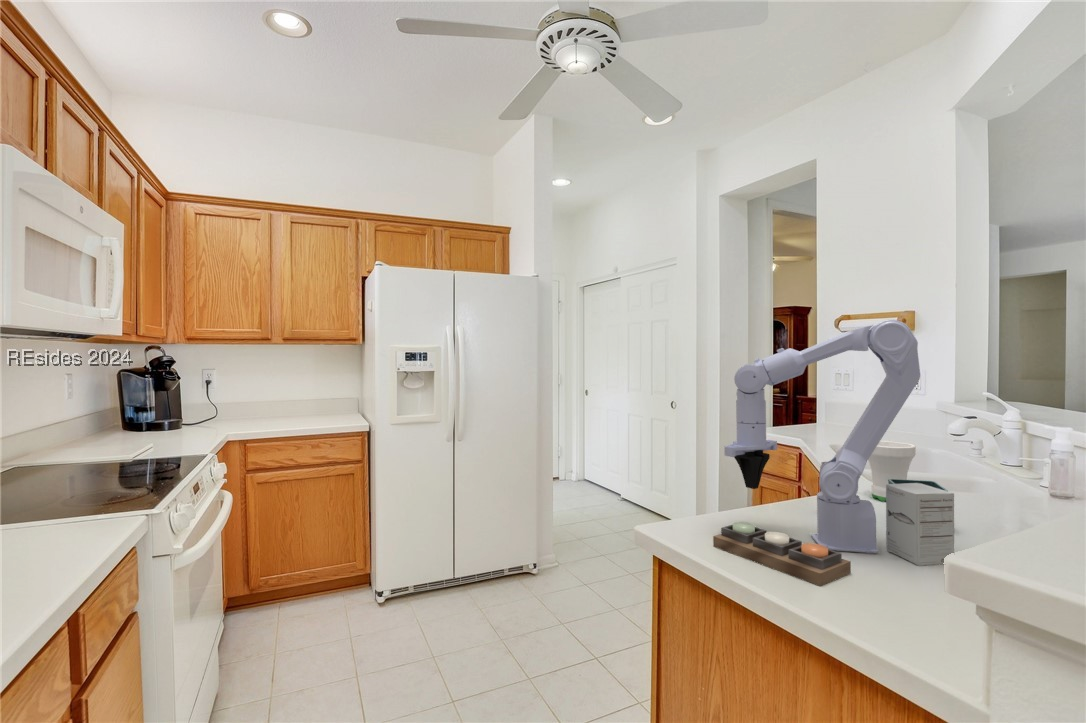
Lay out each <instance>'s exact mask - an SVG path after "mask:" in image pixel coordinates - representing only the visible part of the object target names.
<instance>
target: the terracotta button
mask: <svg viewBox="0 0 1086 723" xmlns="http://www.w3.org/2000/svg"><path fill="white" fill-rule="evenodd" d="M801 552H802V553H804V554H807V555H811V556H814V557H817V558H820V559H821V558H824V557H826V556H828V548H827V547H825V546H823V545H820V544H817V543H816V542H815V543H814V542H805V543H802V545H801Z"/></svg>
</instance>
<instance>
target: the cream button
mask: <svg viewBox="0 0 1086 723" xmlns="http://www.w3.org/2000/svg"><path fill="white" fill-rule="evenodd" d="M789 537H790V536H789V535H788V534H786V533H783V532H780V531H779V532H778V531H767V533H765V541H768V542H771V543H774V544H777V545H780V546H782V545H785V544H788V543H789Z"/></svg>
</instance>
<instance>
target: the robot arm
mask: <svg viewBox="0 0 1086 723" xmlns="http://www.w3.org/2000/svg"><path fill="white" fill-rule="evenodd" d="M918 344H919V342H918V339H917V337H916V336H915V335H914V333H913V332H912V329H911V328H910V327H909V326H908V325H907V324H906V323H905V322H903V321H900V320H897V319H887V320H883V321H881V322H879V323H877V324H876V325H874V324H870V325H865V326H862V327H858V328H855V329H851V330H847V331H846V332H843V333H840V334H837V335H836V336H833V337H831V338H828V339H827V340H823V341H821V342H819V343H816V344H813V345H812V346H810V347H808V348H804V349H803V350H800V351H799V350H797V349H794V348H790V347H789V348H786V349H785V348H783V347H781V348H778V349H776V352H777V353H774V354H771V355H770V356H767V357H764V358H762V359H760V358H756V359H754V360H753V362H754V364H752V363H751V364H748V363H747V364H744V365H743V366H741V367H739V368H738V369H737V371H736V372H735V374H734V378H733V380H734V384H735V386H736V387H737V389H736V402H735V403H736V406H735V408H736V411H735V414H736V415H735V416H736V440H735V441H732V443H731V444H729V445H725V446H724V449H723V450H724V457H730V458H731V457H732V458H734V459H735V461H736V462H737V464H738V466H739V469H740V471H741V474H742V478H743V481H744V485H745V487H746V488H748V489H751V490H755V489H756V490H757V489H759V486H760V483H761V479H762V475H763V472H764V469H765V467H766V466H767V463H768V462H769V460H770V454H769V453H765V451H771V450H772V451H777V450H778V441H777V440H771V439H767V410H766V409H767V400H766V399H765V398H766V397H765V387H766V385H767V386H771V387H772V386H775V385H777V384H780V383H782V382H785V381H789V380H791V379H793V378H797V377H799V376H801V375H803V374H804V373H805V370H806V369H807V366H808V365H811V364H814V363H816V362H817V363H818V362H820V361H823V360H825V359H829V358H831V357H833V356H837V355H839V354H842V353H845V352H848V351H853V352H854V351H857V352H867V351H869V350H870V351H871V352H872V353H873V354H874V355H875V356H876V357H877V359H879V361H880V364H881V366H882V369H883V371H884V373H885V378H884V379H883V380H882V383H881V384H880V385H879V387H878V388H877V390H876V392H875V393H874V394H873V396H872V398H871V399H870V402H869V403H868V404H867V407H866V408H865V410H864V411H863V413H862V414H861V416H860V418H859V419H858V421H857V423H856V424H855V425H854V427H853V429H852V430H851V431H850V434H849V435H848V437H847V438H846V440H845V441H844V443H843V445H842V446H841V447H840V448H839V449H838V451H837V452H836V453H835V455H834V456H833V458H832V459H829V460H828V461H825V462H826V463H825V464H823V466H822V467H821V469H820V468H819V474H818V476H819V477H818V478H819V482H818V484H819V485H818V486H819V488H820V491H819V492H817V493H816V517H817V519H816V520H817V521H816V522H817V523H816V524H817V526H816V527H817V528H816V529H817V533H811V534H810V537H811V538H812V540H814V541H815V544H820V545H823V546H825V547H827V548H828V549H829V550H832V551H836V552H852V553H853V552H855V553H867V554H870V553H871V554H878V553H879V550H878V549H877V517H876V516H877V515H876V510H875V507H874V505H873V503H872V502H871V501H870V500H866V499H861V498H860V496H859V495H857V494H858V489H859V480H860V478H861V476H862V475H863V473H864V471H865V468H866V465H867V462H868V459H869V457H870V456H871V454H872V453H873V451H874V450H875V448H876V446H877V445H878V443H879V442H880V441H882V439H883V437H884V435H885V434H886V432H887V431H888V430H889V428H890V427H891V425H892V423H893V422H894V421H895V420H894V419H895V418H896V417H897V415H898V414H899V412H900V410H901V409H902V407H903V406H904V405H905V404H906V401H907V400H908V399H909V397H910V395H911V394H912V392H913V390H914V389H915V387H916V386H917V384H918V383H919V380H920V379H921V370H920V369H921V368H920V359H919V353H918Z"/></svg>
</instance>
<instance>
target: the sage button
mask: <svg viewBox="0 0 1086 723" xmlns="http://www.w3.org/2000/svg"><path fill="white" fill-rule="evenodd" d="M732 525H733V530H734V531H737V532H740V533H743V534H746V535H747V534H750V533H754V532H755V527H756V525H755V524H753V523H751V522H750V523H749V522H744V521H736V522H733V523H732Z"/></svg>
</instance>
